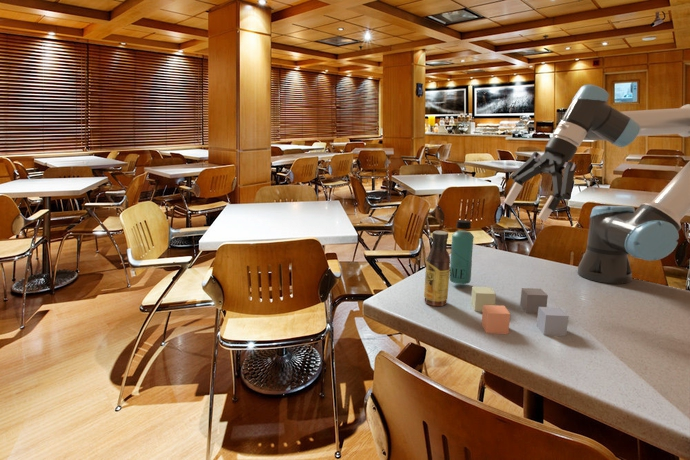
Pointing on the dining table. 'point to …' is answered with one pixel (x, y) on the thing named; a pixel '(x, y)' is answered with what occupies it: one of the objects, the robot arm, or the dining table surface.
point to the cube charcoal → (533, 299)
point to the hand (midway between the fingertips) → (523, 211)
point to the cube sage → (482, 297)
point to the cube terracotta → (495, 319)
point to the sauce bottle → (437, 271)
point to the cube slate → (552, 321)
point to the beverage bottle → (461, 254)
